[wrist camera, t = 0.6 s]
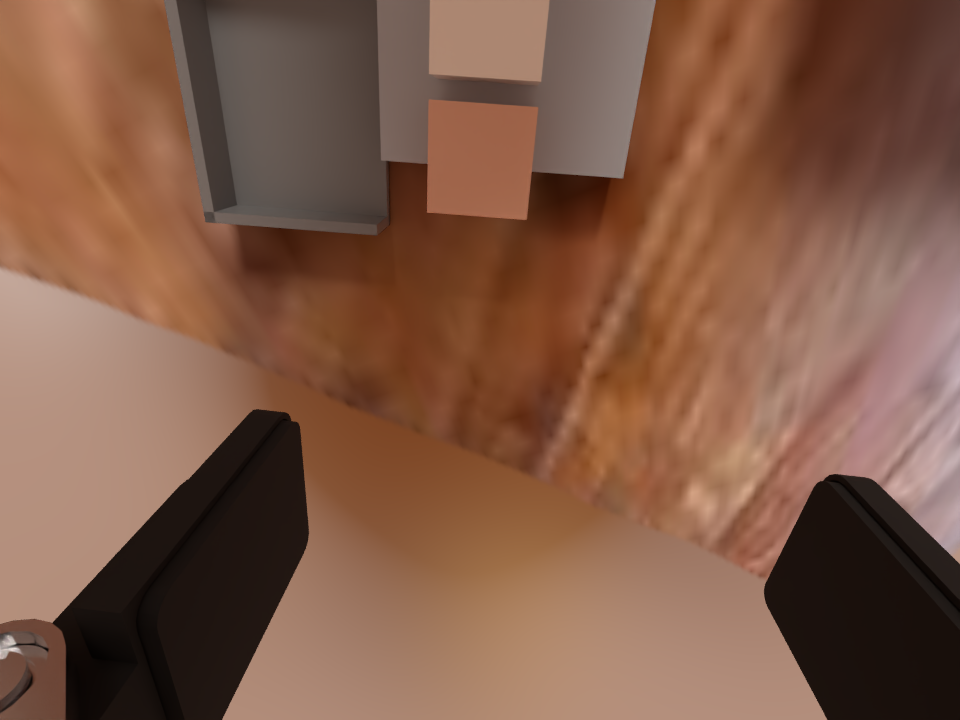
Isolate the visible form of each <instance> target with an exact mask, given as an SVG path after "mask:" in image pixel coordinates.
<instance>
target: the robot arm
mask: <svg viewBox="0 0 960 720" xmlns="http://www.w3.org/2000/svg"><path fill="white" fill-rule="evenodd" d="M308 535H309V529H308V516H307V504H306V492H305V481H304V469H303V457H302V446H301V434H300V426H299V424H298V423H297V422H293V421H291V418H290V416H289V414H287V413H285V412H276V411H267V410H259V409H256V410H253V411H252V412H251V413H249V414H248V415H247V417H246V418H245V419H244V420H243V421H242V422H241V423H240V424H239V425H238V426H237V427H236V429H235V430H234V431H233V432H232V433H231V434H230V435H229V436H228V437H227V438H226V439H225V440H224V442H223V443H222V444H221V445H220V446H219V447H218V448H217V449H216V450H215V451H214V452H213V453H212V455H211V456H210V457H209V458H208V459H207V460H206V461H205V462H204V463H203V464H202V465H201V467H200V468H199V469H198V470H197V471H196V472H195V473H194V474H193V475H192V476H191V477H190V478H189V479H188V480H186V481H185V482H184V483H183V484H181V485H180V486H179V487H178V488H177V489H176V490H175V492H174V493H173V494H172V495H171V496H170V497H169V498H168V499H167V500H166V501H165V502H164V503H163V505H162V506H161V507H160V508H159V509H158V510H157V511H156V512H155V513H154V514H153V515H152V516H151V517H150V518H149V520H148V521H147V522H146V523H145V524H144V525H143V526H142V527H141V528H140V529H139V530H138V531H137V532H136V534H135V535H134V536H133V537H132V538H131V539H130V540H129V541H128V542H127V543H126V544H125V545H124V546H123V547H122V549H121V550H120V551H119V552H118V553H117V554H116V555H115V556H114V557H113V558H112V559H111V560H110V561H109V563H108V564H107V565H106V566H105V567H104V568H103V569H102V570H101V571H100V572H99V573H98V574H97V575H96V577H95V578H94V579H93V580H92V581H91V582H90V583H89V584H88V585H87V586H86V587H85V588H84V589H83V590H82V592H81V593H80V594H79V595H78V596H77V597H76V598H75V599H74V600H73V601H72V602H71V603H70V605H69V606H68V607H67V608H66V609H65V610H64V611H63V612H62V613H61V614H60V615H59V616H58V618H56V620H55V621H54V622H53V623H50V622H46V621H42V620H37V619H28V620H16V621H10V622H6V623H3V624H0V720H222V718H223V716H224V714H225V712H226V710H227V708H228V706H229V704H230V702H231V700H232V698H233V696H234V694H235V692H236V690H237V688H238V686H239V684H240V682H241V680H242V678H243V676H244V674H245V671H246V670H247V668H248V666H249V663H250V662H251V659H252V657H253V655H254V653H255V651H256V649H257V647H258V645H259V643H260V641H261V639H262V637H263V635H264V633H265V631H266V629H267V627H268V625H269V623H270V621H271V619H272V617H273V615H274V613H275V610H276V608H277V606H278V604H279V602H280V600H281V598H282V596H283V594H284V592H285V590H286V588H287V586H288V584H289V582H290V580H291V578H292V576H293V574H294V572H295V570H296V568H297V566H298V564H299V562H300V560H301V558H302V556H303V554H304V551H305V549H306V546H307V542H308ZM764 596H765V601H766V604H767V607H768V609H769V610H770V612H771V614H772V616H773V618H774V620H775V622H776V623H777V625H778V627H779V629H780V631H781V633H782V635H783V637H784V639H785V641H786V642H787V644H788V646H789V648H790V650H791V652H792V654H793V655H794V658H795V659H796V661H797V663H798V665H799V667H800V669H801V671H802V673H803V674H804V676H805V678H806V680H807V682H808V684H809V686H810V688H811V690H812V691H813V693H814V695H815V697H816V699H817V701H818V703H819V705H820V706H821V708H822V710H823V712H824V714H825V716H826V718H827V720H960V564H959V563H958V562H957V561H956V560H955V559H954V558H953V557H952V556H951V555H950V554H949V553H948V552H947V551H946V550H945V549H944V548H943V547H942V546H941V545H940V544H939V543H938V542H937V541H936V540H935V539H934V538H933V537H932V536H931V535H929V534H928V533H927V532H926V531H925V530H924V529H923V528H922V527H921V526H920V525H919V524H918V523H917V522H916V521H915V520H914V519H913V518H912V517H911V516H910V515H909V514H908V513H907V512H906V511H905V510H904V509H903V508H902V507H901V506H900V505H899V504H898V503H897V502H896V501H895V500H894V499H893V498H892V497H891V496H890V495H889V494H888V493H887V492H886V491H884V490H883V489H882V488H881V487H880V486H879V485H878V484H877V483H876V482H875V481H873V480H872V479H869V478H865V477H856V476H847V475H839V474H833V475H829V476H828V477H826V478H825V479H824V481H820V482H818V483H817V484H816V485H815V487H814V488H813V490H812V492H811V494H810V496H809V498H808V500H807V502H806V504H805V506H804V508H803V510H802V512H801V514H800V516H799V518H798V520H797V522H796V524H795V526H794V528H793V530H792V532H791V534H790V536H789V538H788V540H787V542H786V544H785V546H784V548H783V550H782V552H781V554H780V556H779V558H778V560H777V562H776V564H775V566H774V568H773V570H772V572H771V574H770V576H769V578H768V580H767V582H766V584H765V588H764Z"/></svg>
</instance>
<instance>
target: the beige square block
mask: <svg viewBox="0 0 960 720" xmlns="http://www.w3.org/2000/svg"><path fill="white" fill-rule="evenodd" d="M549 1H550V0H430V32H429V74H430V75H432V76H434V77H436V78H437V79H447V80H462V81H476V82H491V83H505V84H519V85H534V86H538V85H539V84H540V82H541V78H542V68H543V59H544V49H545V40H546V30H547V21H548V11H549Z"/></svg>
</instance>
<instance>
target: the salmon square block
mask: <svg viewBox="0 0 960 720" xmlns="http://www.w3.org/2000/svg"><path fill="white" fill-rule="evenodd" d="M537 116H538V107H530V106H516V105H501V104H487V103H473V102H459V101H445V100H430V99H429V104H428V176H427V212H428V213H441V214H454V215H467V216H480V217H493V218H506V219H519V220H527V212H528V202H529V193H530V183H531V174H532V164H533V154H534V145H535V135H536V126H537Z"/></svg>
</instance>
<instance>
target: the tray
mask: <svg viewBox="0 0 960 720" xmlns="http://www.w3.org/2000/svg"><path fill="white" fill-rule="evenodd" d="M164 3H165V8H166V13H167V19H168V24H169V29H170V35H171V40H172V45H173V51H174V56H175V61H176V67H177V72H178V77H179V83H180V88H181V93H182V99H183V104H184V109H185V115H186V120H187V125H188V131H189V136H190V142H191V147H192V152H193V158H194V163H195V168H196V174H197V179H198V184H199V190H200V195H201V200H202V206H203V211H204V216H205V222H210V223H223V224H236V225H249V226H262V227H275V228H287V229H300V230H313V231H326V232H339V233H352V234H364V235H378V234H379V233H380V232H382V231H383V230H384V229H385V228H386V227H387V226H389V225H390V218H389V167H388V161H382V160H381V140H380V102H379V63H378V25H377V0H164Z"/></svg>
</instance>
